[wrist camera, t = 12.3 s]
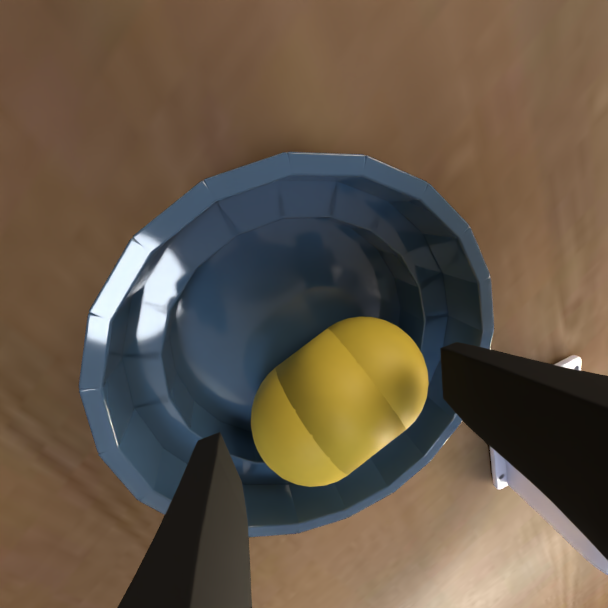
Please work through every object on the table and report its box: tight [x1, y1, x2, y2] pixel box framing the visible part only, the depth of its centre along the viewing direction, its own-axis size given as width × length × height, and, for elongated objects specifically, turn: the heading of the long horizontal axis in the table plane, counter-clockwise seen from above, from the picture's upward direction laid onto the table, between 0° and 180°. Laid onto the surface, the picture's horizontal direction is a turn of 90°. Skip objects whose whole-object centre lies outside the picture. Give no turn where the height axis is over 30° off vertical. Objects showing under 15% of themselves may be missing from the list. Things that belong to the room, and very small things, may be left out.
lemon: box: [251, 317, 429, 487], centre depth 13 cm, size 5×8×5 cm
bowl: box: [79, 152, 494, 537], centre depth 13 cm, size 15×15×4 cm
